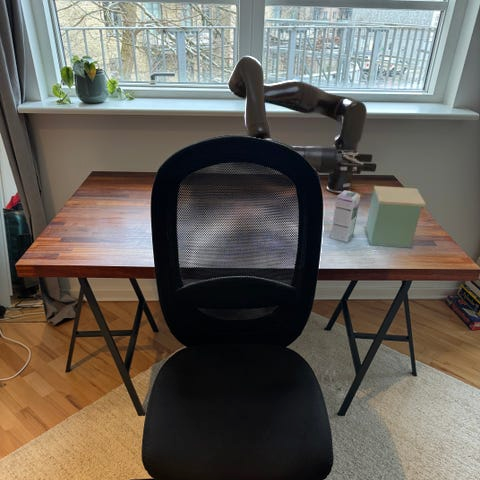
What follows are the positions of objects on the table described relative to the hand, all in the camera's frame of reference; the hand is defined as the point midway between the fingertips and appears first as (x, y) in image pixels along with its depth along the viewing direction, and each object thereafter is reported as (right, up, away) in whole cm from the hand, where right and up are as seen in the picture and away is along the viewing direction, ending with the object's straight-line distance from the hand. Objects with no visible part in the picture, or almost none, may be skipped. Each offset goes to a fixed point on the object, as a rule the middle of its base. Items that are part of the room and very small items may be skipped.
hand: (373, 162), depth 134 cm
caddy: (+9, -19, +14) cm, 26 cm away
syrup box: (-6, -20, +14) cm, 25 cm away
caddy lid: (+9, -9, +6) cm, 14 cm away
